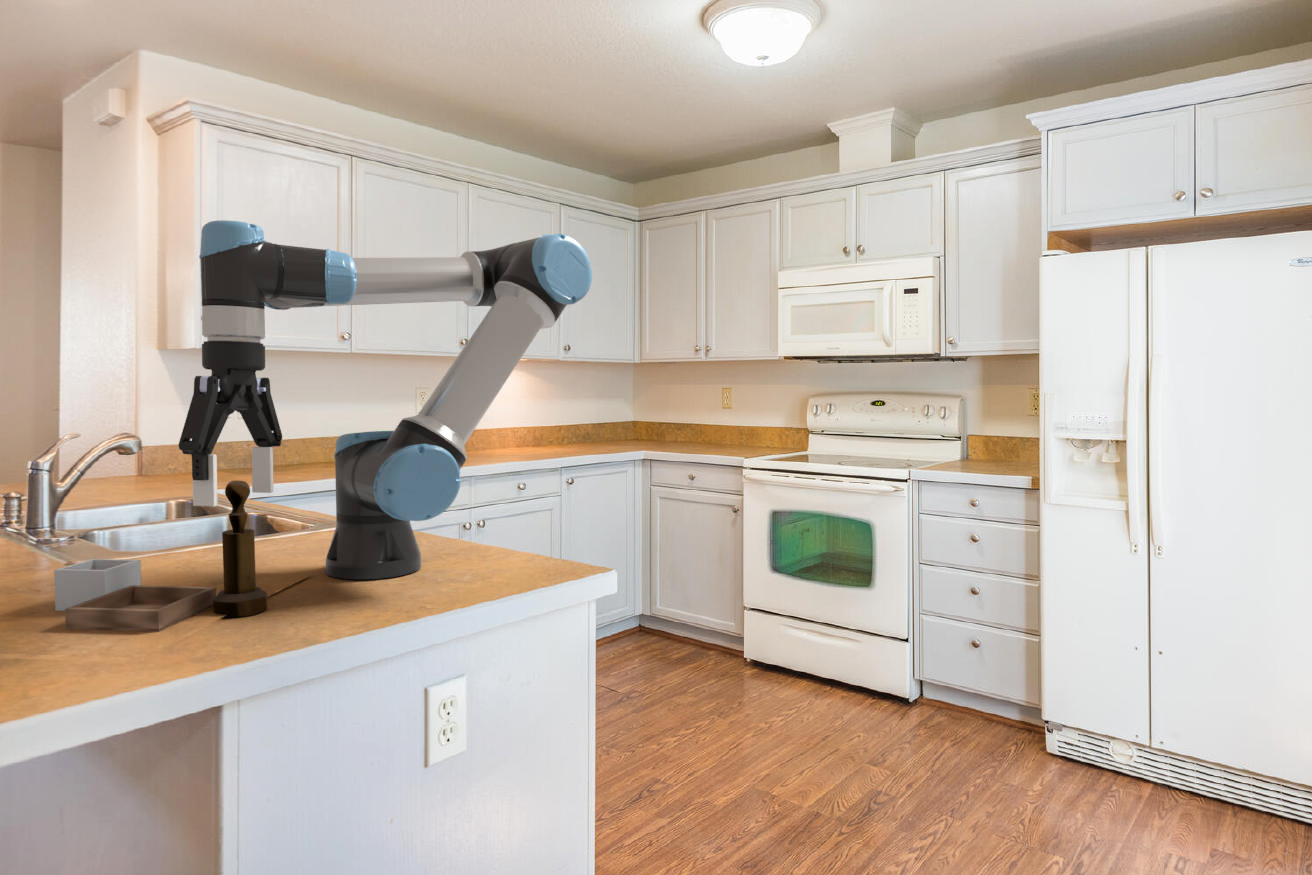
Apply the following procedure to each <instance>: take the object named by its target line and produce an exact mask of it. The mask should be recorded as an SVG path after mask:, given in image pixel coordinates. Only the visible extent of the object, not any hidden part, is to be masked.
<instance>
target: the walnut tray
mask: <svg viewBox="0 0 1312 875" xmlns="http://www.w3.org/2000/svg"><path fill="white" fill-rule="evenodd" d="M215 596H217V587H215V586H213V587H212V586H185V585H184V586H181V585H180V586H176V585H174V586H173V585H142V584H141V585H132V586H129V587H126V588H123V589H120V590H117V591H114V592H112V593H109V594H106V595H103V596H100V597H97V598H95V599H92V600H89V601H86V602H83V603H80V604H77V605H75V606H72V607H69V608H66V609H65V611H64V616H65V630H79V631H81V630H82V631H83V630H85V631H86V630H87V631H92V630H93V631H116V632H117V631H120V632H124V631H125V632H150V633H151V632H157V633H158V632H161V631H163V630H166V629H168V628H170V627H172V626H175V625H177V624H179V623H181V622H183V621H186V620H188V619H190V618H193V617H194V616H197V615H199V614H201V613H203V612H206V611H208V610H209V609H212V608H213V598H214V597H215Z"/></svg>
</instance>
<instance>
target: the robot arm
mask: <svg viewBox="0 0 1312 875" xmlns="http://www.w3.org/2000/svg"><path fill="white" fill-rule="evenodd" d="M198 258H199V260H200V286H201V287H200V291H201V317H200V320H201V335H202V336H203V337H204V338H206V339H207V341H203V343H201V364H202V365H201V367H202V368H203V369H204V370H210V371H211V375H196V376H195V377H194V379H193V380H194V381H193V394H192V398H191V401H190V404H189V407H188V411H187V414H186V418H185V421H184V425H183V428H182V432H181V434H180V438H179V442H178V449H179V450H180V451H181V452H182V454H184V455H191V477H192V505H193V507H217V506H218V466H217V465H218V458H217V456H218V455H217V454H212V453H213V451H214V448H215V446H216V445H217V441H218V440H219V439H220V438H219V437H220V436H221V433H222V432H223V428H224V427H225V425H226V423H227V421H228V419H229V417H230V415H231V414H234V412H237V413H239V414H240V417H241V418H242V419H243V421H244V424H245V426H246V428H247V429H248V430H247V431H249V433H250V435H251V437H252V440H253V441H254V444H255V446H251V484H252V487H251V488H252V490H251V492H252V493H259V494H260V493H262V494H263V493H264V494H272V493H274V447H280V446H281V444H282V440H283V433H282V430H281V426H280V423H279V419H278V415H277V411H276V408H275V405H274V401H273V397H272V394H271V379H270V378H269V377H257V376H256V375H257V374H256V373H257V372H259V371H260V372H261V371H263V370H265V369H266V346H265V345H264V343H262V342H261V340H264V339H265V338H266V325H265V324H266V323H265V321H266V320H265V318H266V317H265V309H266V308H268V309H272V310H277V311H278V310H281V311H285V310H290V309H294V308H295V309H296V308H297V309H298V308H299V309H300V308H315V307H317V308H318V307H334V306H335V307H336V306H339V307H340V306H363V305H364V306H366V305H368V306H369V305H389V304H390V305H391V304H413V303H414V304H416V303H417V304H418V303H419V304H420V303H443V302H463V303H464V304H465V305H466V306H468V307H490V308H489V310H488V311H487V313H486V315H485V316H484V318H483V319H482V321H481V322H480V323H479V325H478V326H477V327H476V329H475V330H474V331H473V333H472V335H471V336H470V338H469V339H468V341H467V342H466V343H465V344H464V347H463V348H462V349H461V351H460V352H459V354H458V355H457V357H456V358H455V360H454V361H453V362H452V364H451V366H450V367H449V368H448V370H447V371H446V373H444V376H443V377H442V378H441V380H440V382H439V383H438V385H437V386H436V387H435V389H434V390H433V392H432V393H431V395H429V398H427V400H426V402H425V403H424V404H423V406H422V408H421V409H420V411H419V412H418V413H417V414H416V415H414V416H408V417H407V416H406V417H403V418H402V419H401V420H400V422H399V423H398V425H397V426H396V428H394V430H376V431H374V430H373V431H362V432H351V433H346V434H345V433H344V434H341V435H340V436H339V437H337V439H336V441H335V452H334V453H333V458H334V461H335V462H334V465H335V468H334V470H335V473H334V474H335V508H336V510H335V513H336V514H335V515H336V516H335V517H336V524H335V529H334V532H333V536H332V539H331V541H330V542H331V543H330V545H329V548H328V551H327V554H326V557H325V574H326V575H328V576H329V577H333V578H336V579H344V580H378V579H388V578H395V577H400V576H405V575H410V574H412V573H415V572H417V571H419V570H420V569H421V568H422V554H421V553H422V552H421V551H420V548H419V545H418V542H417V540H416V536H415V534H414V530H413V528H412V527H413V526H412V524H411V522H422V521H428V520H431V519H434V518H436V517H438V516H440V515H441V514H443V513H444V512H445V511H447V510H448V509H449V508H450V506H451V505H452V504H453V503H454V502H455V499H456V498H457V497H458V494H459V491H460V487H461V483H462V481H461V476H460V474H461V471H460V470H461V468H462V467H463V466H464V464H465V463H466V461H467V459H468V455H467V453H466V447H465V446H466V443H467V441H468V440H469V438H470V437H471V436H472V434H473V432H474V431H475V429H476V428H477V426H478V424H479V423H480V422H481V420H482V419H483V417H484V416H485V414H486V412H487V411H488V410H489V407H490V406H491V405H492V403H493V402H494V400H495V399H496V397H497V396H498V394H499V393H500V391H501V390H502V388H503V386H504V385H505V384H506V382H507V380H508V379H509V377H510V376H511V375H512V372H513V371H514V370H515V368H516V367H517V365H518V363H519V362H520V361H521V359H522V357H523V356H524V354H525V353H526V351H527V349H528V348H529V346H530V345H531V343H532V342H533V341H534V339H535V338H536V336H537V334H538V333H539V331H540V330H544V329H549V328H552V327H554V325H555V324H556V322H557V320H558V319H559V318H560V316H561V314H562V313H563V311H564V310H565V308H566V307H567V306H568V305H574V304H576V303H578V302H579V301H581V300H582V299H584V298H585V297H586V295H587V294H588V293H589V291H590V289H591V285H592V278H593V271H592V269H591V261H590V257H589V255H588V253H587V252H586V250H585V249H584V247H583V246H582V245H581V244H580V243H579V241H577V240H575V239H574V238H573V237H571V236H569V235H566V234H563V233H554V234H552V233H546V234H542V235H540V236H539V237H536V238H532V239H528V240H522V241H518V242H514V243H510V244H507V245H503V246H500V247H499V246H498V247H496V248H491V249H487V250H479V251H477V250H476V251H470V250H469V251H465V252H463V253H462V254H461V256H460V257H459V256H457V257H352V256H351V255H350V254H349V253H346V252H341V251H337V250H336V251H335V250H331V249H330V248H326V249H322V248H321V249H320V248H313V247H312V248H311V247H305V246H302V247H301V246H293V245H285V244H277V243H272V242H269V241H266V237H265V233H264V230H263V228H262V227H261V226H259V225H257V224H254V223H248V222H245V221H239V220H238V221H237V220H227V219H226V220H224V219H223V220H210V221H208V222H207V223H205V224H204V225H203V226H202V227H201V237H200V252H199V257H198ZM265 307H266V308H265Z"/></svg>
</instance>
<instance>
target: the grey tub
mask: <svg viewBox="0 0 1312 875" xmlns="http://www.w3.org/2000/svg"><path fill="white" fill-rule="evenodd" d="M141 560H142V559H123V558H122V559H117V558H116V559H115V558H114V559H113V558H91V559H88V560H84V561H81V562H77V563H74V564H71V565H70V564H69V565H66V566H63V567H60V568H56V569H54V570H53V574H54V577H53V578H54V580H53V581H54V599H55V600H54V603H55V608H54V609H55V611H56V612H65V609H66V608H69V607H72V606H75V605H77V604H80V603H83V602H86V601H89V600H92V599H95V598H97V597H100V596H103V595H106V594H109V593H112V592H114V591H117V590H120V589H123V588H126V587H129V586H132V585H142V566H141V564H142V563H141Z"/></svg>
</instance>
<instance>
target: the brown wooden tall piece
mask: <svg viewBox="0 0 1312 875" xmlns="http://www.w3.org/2000/svg"><path fill="white" fill-rule="evenodd" d="M250 493H251V488H250V485H249V484H248V482H247V481H244V480H231V481H229V482H228V483H227V484H226V486H225V488H224V494H225V497H226V498H227V499H228V501H229V503H230V505H231V507H232V510H231V512H229V514H228V519H229V522H230V526H231V528H232V529H228V530H224V531H222V532H221V536H222V538H221V539H222V566H223V569H222V570H223V571H222V572H223V589H222V590H220V591H219V592H218V593H217V594H216V596H215V597H214V598H213V607H212V608H213V610H212V611H213V613H214V614H217V615H221V616H222V617H221V618H222V619H235V618H243V617H249V616H255V615H259V614H261V613H263V612H264V611H266V610H267V609H268V601H267V600H268V598H267V592H266V590H264V589H262V588H261V587H259V586H257V576H256V553H255V552H256V551H255V550H256V549H255V548H256V546H255V544H256V543H255V539H256V538H255V529H252V528H250V529H249V528H245V527H246V523H247V521H248V520H247V519H248V516H249V514H248V512H246V510H245V504H246V502H247V500H248V498H249V497H250V495H251V494H250Z"/></svg>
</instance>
